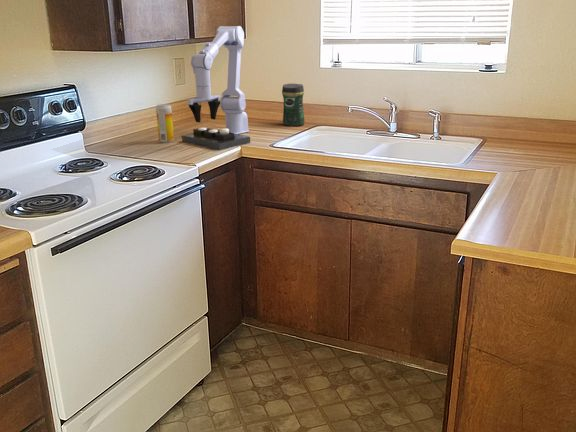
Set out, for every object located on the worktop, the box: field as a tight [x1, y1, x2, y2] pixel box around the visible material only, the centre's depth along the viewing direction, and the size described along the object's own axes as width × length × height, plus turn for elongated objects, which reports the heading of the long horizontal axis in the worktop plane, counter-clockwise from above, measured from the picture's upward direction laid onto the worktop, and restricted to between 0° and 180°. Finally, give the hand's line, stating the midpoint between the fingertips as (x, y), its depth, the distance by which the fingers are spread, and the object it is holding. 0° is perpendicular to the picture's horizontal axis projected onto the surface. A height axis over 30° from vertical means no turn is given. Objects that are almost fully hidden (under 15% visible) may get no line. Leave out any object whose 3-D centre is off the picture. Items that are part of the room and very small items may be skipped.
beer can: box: [155, 103, 175, 144], centre depth 237 cm, size 6×6×15 cm
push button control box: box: [181, 127, 251, 151], centre depth 237 cm, size 16×26×5 cm, turn 46°
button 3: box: [219, 127, 229, 135], centre depth 230 cm, size 4×4×2 cm
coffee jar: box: [281, 83, 305, 127], centre depth 265 cm, size 10×8×19 cm
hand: (205, 120), depth 231 cm, fingers open, 7 cm apart
